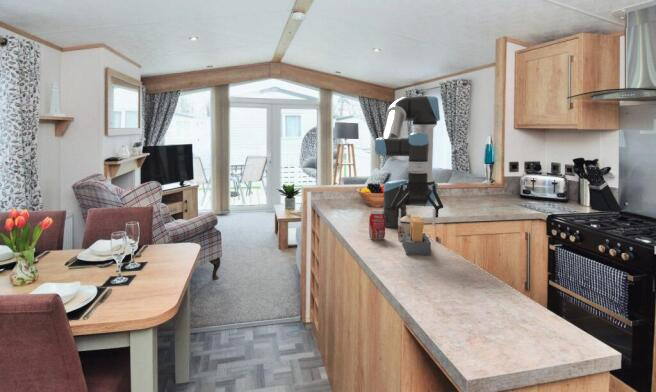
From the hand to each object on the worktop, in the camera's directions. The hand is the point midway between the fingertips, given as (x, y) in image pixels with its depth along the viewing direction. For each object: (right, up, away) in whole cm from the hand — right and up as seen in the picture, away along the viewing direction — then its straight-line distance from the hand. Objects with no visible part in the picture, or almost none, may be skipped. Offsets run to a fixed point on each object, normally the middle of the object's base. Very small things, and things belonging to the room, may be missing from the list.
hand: (416, 225), depth 176 cm
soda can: (-14, -8, +20) cm, 26 cm away
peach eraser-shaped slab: (0, -10, +1) cm, 10 cm away
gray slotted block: (0, -10, +1) cm, 10 cm away
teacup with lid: (0, -8, +17) cm, 19 cm away
